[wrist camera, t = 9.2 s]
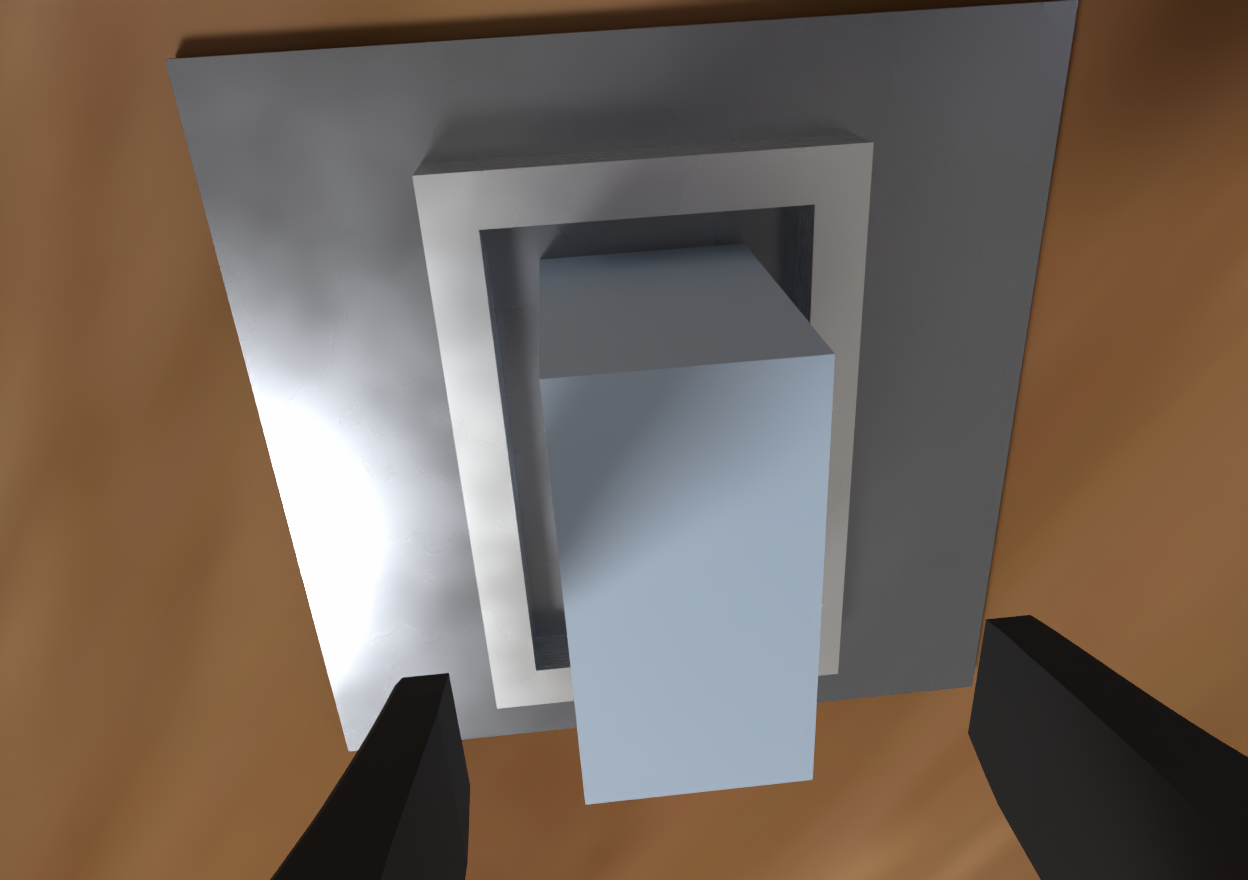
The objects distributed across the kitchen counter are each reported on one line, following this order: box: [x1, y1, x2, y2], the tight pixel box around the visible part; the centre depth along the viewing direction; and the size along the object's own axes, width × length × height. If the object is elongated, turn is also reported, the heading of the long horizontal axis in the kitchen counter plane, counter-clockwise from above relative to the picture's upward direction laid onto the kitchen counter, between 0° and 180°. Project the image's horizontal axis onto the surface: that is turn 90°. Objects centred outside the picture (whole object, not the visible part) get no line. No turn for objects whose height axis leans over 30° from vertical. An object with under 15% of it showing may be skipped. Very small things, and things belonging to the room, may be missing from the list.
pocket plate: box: [165, 0, 1079, 751], centre depth 18 cm, size 16×16×3 cm
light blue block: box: [539, 244, 835, 805], centre depth 16 cm, size 8×4×6 cm, turn 4°
